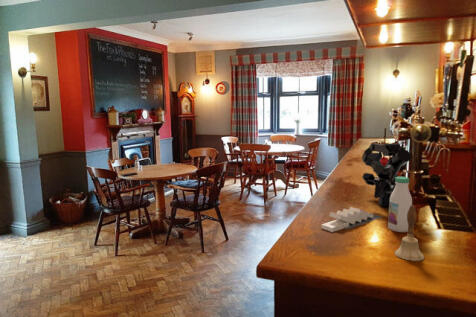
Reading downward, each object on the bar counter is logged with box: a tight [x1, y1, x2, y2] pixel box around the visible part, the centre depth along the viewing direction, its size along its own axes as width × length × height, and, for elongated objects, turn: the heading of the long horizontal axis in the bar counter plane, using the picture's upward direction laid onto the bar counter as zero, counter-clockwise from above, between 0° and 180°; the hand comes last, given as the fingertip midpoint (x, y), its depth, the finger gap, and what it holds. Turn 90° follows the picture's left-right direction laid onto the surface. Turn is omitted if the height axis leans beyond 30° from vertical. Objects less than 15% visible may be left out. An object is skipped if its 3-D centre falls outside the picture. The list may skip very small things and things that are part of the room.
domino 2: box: [320, 219, 349, 233], centre depth 134 cm, size 2×5×10 cm
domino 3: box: [336, 210, 362, 222], centre depth 138 cm, size 2×5×10 cm
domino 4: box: [342, 208, 367, 220], centre depth 141 cm, size 2×5×10 cm
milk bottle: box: [387, 176, 413, 233], centre depth 131 cm, size 8×8×20 cm
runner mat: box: [344, 213, 383, 230], centre depth 142 cm, size 24×8×1 cm, turn 127°
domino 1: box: [328, 211, 355, 224], centre depth 136 cm, size 2×5×10 cm
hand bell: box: [394, 204, 425, 262], centre depth 108 cm, size 8×8×16 cm
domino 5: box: [348, 206, 374, 218], centre depth 143 cm, size 2×5×10 cm
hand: (375, 197), depth 149 cm, fingers closed
